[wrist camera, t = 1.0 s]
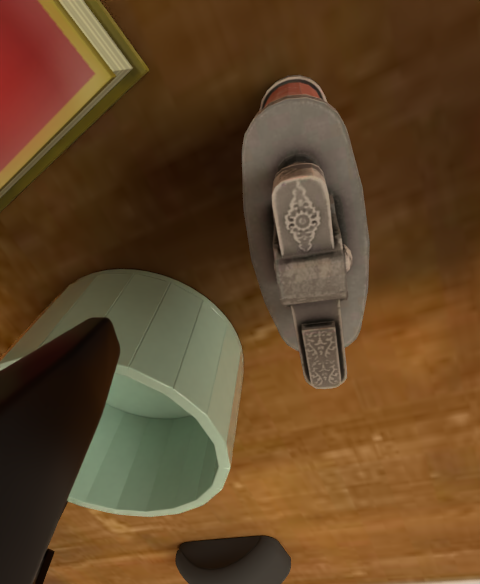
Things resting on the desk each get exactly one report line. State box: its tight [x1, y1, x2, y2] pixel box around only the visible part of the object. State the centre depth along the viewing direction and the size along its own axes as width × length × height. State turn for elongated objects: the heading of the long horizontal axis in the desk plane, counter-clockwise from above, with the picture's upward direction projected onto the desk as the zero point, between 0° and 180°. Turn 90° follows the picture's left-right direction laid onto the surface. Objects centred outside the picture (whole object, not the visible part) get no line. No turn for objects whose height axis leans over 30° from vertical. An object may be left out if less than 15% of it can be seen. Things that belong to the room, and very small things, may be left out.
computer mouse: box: [176, 536, 291, 584], centre depth 38 cm, size 6×11×4 cm, turn 114°
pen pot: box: [0, 269, 244, 517], centre depth 21 cm, size 13×13×7 cm
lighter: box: [242, 75, 370, 389], centre depth 13 cm, size 8×3×10 cm, turn 13°
